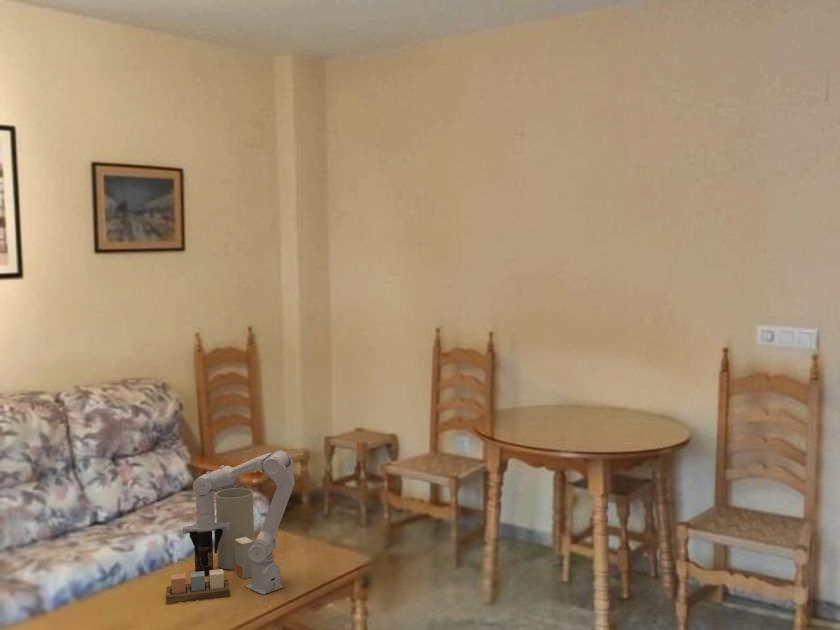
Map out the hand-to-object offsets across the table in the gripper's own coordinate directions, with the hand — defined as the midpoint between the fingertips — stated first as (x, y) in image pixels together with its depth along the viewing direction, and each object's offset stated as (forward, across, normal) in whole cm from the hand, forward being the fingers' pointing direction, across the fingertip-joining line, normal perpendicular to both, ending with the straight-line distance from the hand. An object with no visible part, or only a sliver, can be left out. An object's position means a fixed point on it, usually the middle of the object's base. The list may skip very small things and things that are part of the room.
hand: (206, 553), depth 266 cm
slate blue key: (+8, +3, +8) cm, 12 cm away
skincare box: (+11, -12, -5) cm, 17 cm away
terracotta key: (+8, +9, +8) cm, 14 cm away
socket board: (+10, +3, +8) cm, 13 cm away
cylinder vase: (+11, -10, -16) cm, 22 cm away
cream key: (+8, -3, +8) cm, 12 cm away
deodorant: (+11, +1, -11) cm, 15 cm away
